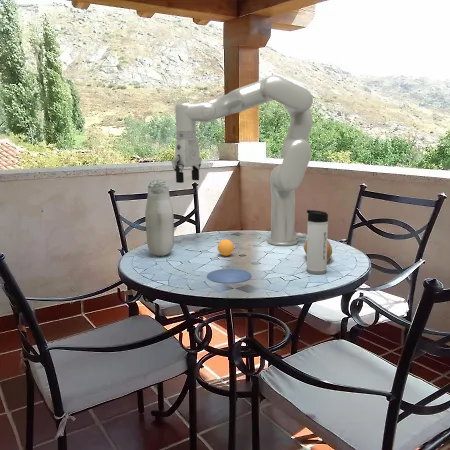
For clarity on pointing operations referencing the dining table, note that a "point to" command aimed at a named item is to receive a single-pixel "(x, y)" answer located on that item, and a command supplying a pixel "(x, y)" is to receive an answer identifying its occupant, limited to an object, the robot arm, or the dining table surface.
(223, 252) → the ball
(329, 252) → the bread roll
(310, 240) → the travel mug
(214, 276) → the disc
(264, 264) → the dining table surface
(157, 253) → the grey beige bottle
